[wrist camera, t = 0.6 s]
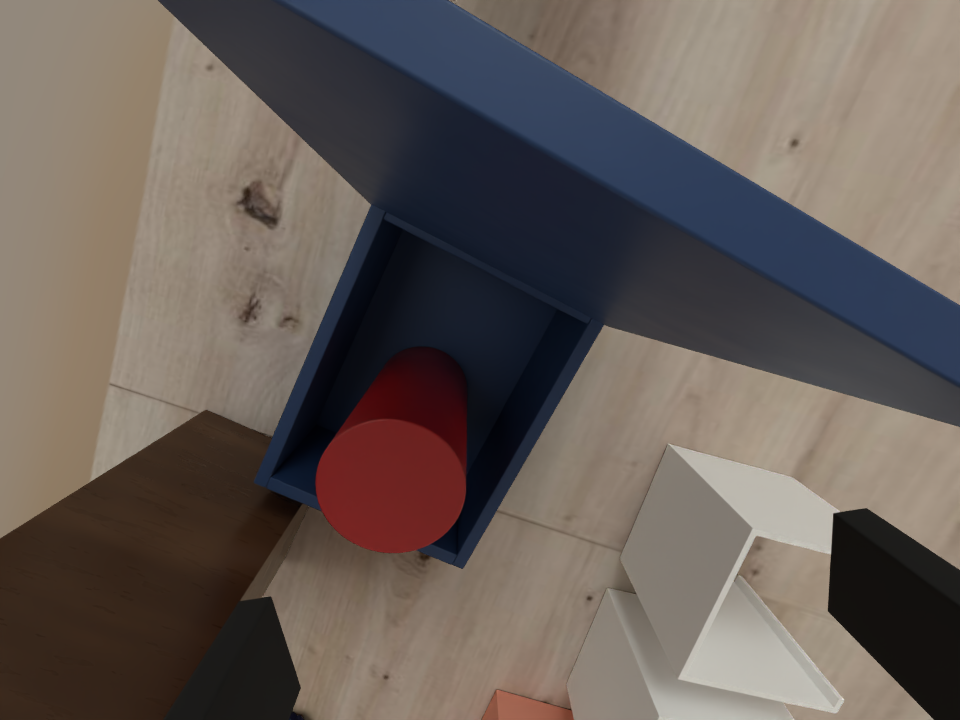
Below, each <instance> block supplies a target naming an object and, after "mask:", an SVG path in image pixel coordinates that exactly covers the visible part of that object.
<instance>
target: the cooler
mask: <svg viewBox="0 0 960 720" xmlns="http://www.w3.org/2000/svg"><path fill="white" fill-rule="evenodd" d="M603 325H604V324H602V323H600V322H598V321H596V320H594V319H592V318H590V317H588V316H587V315H585V314H583V313H581V312H579V311H577V310H575V309H573V308H571V307H569V306H567V305H565V304H563V303H561V302H559V301H558V300H556V299H554V298H552V297H550V296H548V295H546V294H544V293H542V292H540V291H538V290H536V289H534V288H532V287H530V286H529V285H527V284H525V283H523V282H521V281H519V280H517V279H515V278H513V277H511V276H509V275H507V274H505V273H503V272H501V271H500V270H498V269H496V268H494V267H492V266H490V265H488V264H486V263H484V262H482V261H480V260H478V259H476V258H474V257H472V256H471V255H469V254H467V253H465V252H463V251H461V250H459V249H457V248H455V247H453V246H451V245H449V244H447V243H445V242H443V241H442V240H440V239H438V238H436V237H434V236H432V235H430V234H428V233H426V232H424V231H422V230H420V229H418V228H416V227H414V226H412V225H411V224H409V223H407V222H405V221H403V220H401V219H399V218H397V217H395V216H393V215H391V214H389V213H387V212H385V211H383V210H382V209H380V208H378V207H376V206H374V205H371V207H370V209H369V212H368V214H367V216H366V219H365V221H364V223H363V226H362V228H361V230H360V233H359V235H358V237H357V240H356V242H355V244H354V247H353V249H352V252H351V254H350V256H349V259H348V261H347V263H346V266H345V268H344V270H343V273H342V275H341V277H340V280H339V282H338V284H337V287H336V289H335V291H334V294H333V296H332V299H331V301H330V303H329V306H328V308H327V310H326V313H325V315H324V317H323V320H322V322H321V324H320V327H319V329H318V331H317V334H316V336H315V338H314V341H313V343H312V346H311V348H310V350H309V353H308V355H307V357H306V360H305V362H304V364H303V367H302V369H301V371H300V374H299V376H298V378H297V381H296V383H295V385H294V388H293V390H292V393H291V395H290V397H289V400H288V402H287V404H286V407H285V409H284V411H283V414H282V416H281V418H280V421H279V423H278V425H277V428H276V430H275V432H274V435H273V437H272V440H271V442H270V444H269V447H268V449H267V451H266V454H265V456H264V458H263V461H262V463H261V465H260V468H259V470H258V472H257V475H256V477H255V479H254V483H255V484H258V485H260V486H262V487H265V488H267V489H269V490H271V491H274V492H276V493H279V494H281V495H284V496H286V497H288V498H291V499H293V500H296V501H298V502H301V503H303V504H305V505H308V506H310V507H313V508H315V509H317V510H320V511H322V510H321V508H320V505H319V503H318V499H317V494H316V486H315V481H316V472H317V467H318V464H319V461H320V459H321V457H322V455H323V453H324V451H325V450H326V448H327V447H328V445H329V444H330V442H331V441H332V440H333V438H334V437H335V435H336V434H337V432H338V431H339V430H340V428H341V427H342V425H343V424H344V423H345V421H346V420H347V418H348V417H349V415H350V414H351V413H352V411H353V410H354V408H355V407H356V405H357V404H358V403H359V401H360V400H361V398H362V397H363V395H364V394H365V393H366V391H367V390H368V388H369V387H370V386H371V384H372V383H373V381H374V380H375V378H376V377H377V376H378V374H379V373H380V371H381V370H382V368H383V367H384V366H385V364H386V363H387V362H388V361H389V360H390V359H391V358H392V357H393V356H394V355H395V354H397V353H399V352H400V351H403V350H405V349H408V348H412V347H419V346H420V347H431V348H435V349H438V350H441V351H443V352H445V353H446V354H448V355H449V356H451V357H452V358H453V359H454V360H455V361H456V362H457V363H458V365H459V366H460V367H461V369H462V371H463V373H464V375H465V378H466V382H467V452H466V495H465V501H464V505H463V508H462V511H461V513H460V515H459V517H458V519H457V520H456V522H455V523H454V525H453V526H452V527H451V528H450V529H449V530H448V532H446V533H445V534H444V535H443V536H442V537H441V538H439V539H438V540H436V541H435V542H433V543H431V544H429V545H428V546H426V547H423V548H420V549H417V551H419V552H422V553H424V554H426V555H429V556H431V557H434V558H436V559H439V560H441V561H443V562H446V563H448V564H452V565H454V566H456V567H459V568H461V569H463V568H464V566H465V565H466V563H467V561H468V560H469V558H470V556H471V554H472V553H473V551H474V549H475V547H476V546H477V544H478V542H479V540H480V539H481V537H482V535H483V533H484V532H485V530H486V528H487V527H488V525H489V523H490V521H491V520H492V518H493V516H494V514H495V513H496V511H497V509H498V507H499V506H500V504H501V502H502V501H503V499H504V497H505V495H506V494H507V492H508V490H509V488H510V487H511V485H512V483H513V481H514V480H515V478H516V476H517V475H518V473H519V471H520V469H521V468H522V466H523V464H524V462H525V461H526V459H527V457H528V455H529V454H530V452H531V450H532V449H533V447H534V445H535V443H536V442H537V440H538V438H539V436H540V435H541V433H542V431H543V429H544V428H545V426H546V424H547V422H548V421H549V419H550V417H551V416H552V414H553V412H554V410H555V409H556V407H557V405H558V403H559V402H560V400H561V398H562V396H563V395H564V393H565V391H566V390H567V388H568V386H569V384H570V383H571V381H572V379H573V377H574V376H575V374H576V372H577V370H578V369H579V367H580V365H581V364H582V362H583V360H584V358H585V357H586V355H587V353H588V351H589V350H590V348H591V346H592V344H593V343H594V341H595V339H596V337H597V336H598V334H599V332H600V331H601V329H602V327H603Z"/></svg>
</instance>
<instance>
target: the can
mask: <svg viewBox="0 0 960 720" xmlns="http://www.w3.org/2000/svg"><path fill="white" fill-rule="evenodd" d="M466 452H467V382H466V378H465V375H464V373H463V371H462V369H461V367H460V366H459V365H458V363H457V362H456V361H455V360H454V359H453V358H452V357H451V356H449V355H448V354H446V353H445V352H443V351H441V350H438V349H435V348H431V347H420V346H419V347H412V348H408V349H405V350H403V351H400V352H399V353H397V354H395V355H394V356H393V357H392V358H391V359H390V360H389V361H388V362H387V363H386V364H385V366H384V367H383V368H382V370H381V371H380V373H379V374H378V376H377V377H376V378H375V380H374V381H373V383H372V384H371V386H370V387H369V388H368V390H367V391H366V393H365V394H364V395H363V397H362V398H361V400H360V401H359V403H358V404H357V405H356V407H355V408H354V410H353V411H352V413H351V414H350V415H349V417H348V418H347V420H346V421H345V423H344V424H343V425H342V427H341V428H340V430H339V431H338V432H337V434H336V435H335V437H334V438H333V440H332V441H331V442H330V444H329V445H328V447H327V448H326V450H325V451H324V453H323V455H322V457H321V459H320V461H319V464H318V467H317V472H316V481H315V486H316V494H317V499H318V503H319V505H320V508H321V510H322V512H323V514H324V516H325V517H326V519H327V520H328V522H329V523H330V524H331V526H332V527H333V528H334V529H335V530H336V531H337V532H338V533H339V534H341V535H342V536H343V537H344V538H346V539H347V540H349V541H351V542H352V543H354V544H356V545H358V546H360V547H363V548H366V549H369V550H372V551H377V552H383V553H403V552H410V551H414V550H417V549H420V548H423V547H426V546H428V545H429V544H431V543H433V542H435V541H436V540H438V539H439V538H441V537H442V536H443V535H444V534H445V533H446V532H448V530H449V529H450V528H451V527H452V526H453V525H454V523H455V522H456V520H457V519H458V517H459V515H460V513H461V511H462V508H463V505H464V501H465V495H466Z"/></svg>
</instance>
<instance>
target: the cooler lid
mask: <svg viewBox="0 0 960 720" xmlns="http://www.w3.org/2000/svg"><path fill="white" fill-rule="evenodd" d="M158 1H159V2H160V3H161V4H162V5H163V6H164V7H165V8H166V9H167V10H169V11H170V12H171V13H172V14H173V15H174V16H175V17H176V18H177V19H178V20H179V21H180V22H181V23H182V24H183V25H184V26H185V27H186V28H187V29H188V30H189V31H190V32H191V33H193V34H194V35H195V36H196V37H197V38H198V39H199V40H200V41H201V42H202V43H203V44H204V45H205V46H206V47H207V48H208V49H209V50H210V51H211V52H212V53H213V54H214V55H215V56H217V57H218V58H219V59H220V60H221V61H222V62H223V63H224V64H225V65H226V66H227V67H228V68H229V69H230V70H231V71H232V72H233V73H234V74H235V75H236V76H237V77H238V78H239V79H241V80H242V81H243V82H244V83H245V84H246V85H247V86H248V87H249V88H250V89H251V90H252V91H253V92H254V93H255V94H256V95H257V96H258V97H259V98H260V99H261V100H262V101H264V102H265V103H266V104H267V105H268V106H269V107H270V108H271V109H272V110H273V111H274V112H275V113H276V114H277V115H278V116H279V117H280V118H281V119H282V120H283V121H284V122H285V123H286V124H288V125H289V126H290V127H291V128H292V129H293V130H294V131H295V132H296V133H297V134H298V135H299V136H300V137H301V138H302V139H303V140H304V141H305V142H306V143H307V144H308V145H309V146H310V147H312V148H313V149H314V150H315V151H316V152H317V153H318V154H319V155H320V156H321V157H322V158H323V159H324V160H325V161H326V162H327V163H328V164H329V165H330V166H331V167H332V168H333V169H335V170H336V171H337V172H338V173H339V174H340V175H341V176H342V177H343V178H344V179H345V180H346V181H347V182H348V183H349V184H350V185H351V186H352V187H353V188H354V189H355V190H356V191H357V192H359V193H360V194H361V195H362V196H363V197H364V198H365V199H366V200H367V201H368V202H369V203H370V204H372V205H374V206H376V207H378V208H380V209H382V210H383V211H385V212H387V213H389V214H391V215H393V216H395V217H397V218H399V219H401V220H403V221H405V222H407V223H409V224H411V225H412V226H414V227H416V228H418V229H420V230H422V231H424V232H426V233H428V234H430V235H432V236H434V237H436V238H438V239H440V240H442V241H443V242H445V243H447V244H449V245H451V246H453V247H455V248H457V249H459V250H461V251H463V252H465V253H467V254H469V255H471V256H472V257H474V258H476V259H478V260H480V261H482V262H484V263H486V264H488V265H490V266H492V267H494V268H496V269H498V270H500V271H501V272H503V273H505V274H507V275H509V276H511V277H513V278H515V279H517V280H519V281H521V282H523V283H525V284H527V285H529V286H530V287H532V288H534V289H536V290H538V291H540V292H542V293H544V294H546V295H548V296H550V297H552V298H554V299H556V300H558V301H559V302H561V303H563V304H565V305H567V306H569V307H571V308H573V309H575V310H577V311H579V312H581V313H583V314H585V315H587V316H588V317H590V318H592V319H594V320H596V321H598V322H600V323H602V324H604V325H606V326H609V327H612V328H616V329H619V330H623V331H626V332H630V333H633V334H637V335H640V336H644V337H647V338H651V339H654V340H658V341H661V342H665V343H668V344H672V345H675V346H679V347H682V348H686V349H689V350H693V351H696V352H700V353H703V354H707V355H710V356H714V357H717V358H721V359H724V360H728V361H731V362H735V363H738V364H742V365H745V366H749V367H752V368H756V369H759V370H763V371H766V372H770V373H773V374H777V375H780V376H784V377H787V378H791V379H794V380H798V381H801V382H805V383H808V384H812V385H815V386H819V387H822V388H826V389H829V390H833V391H836V392H840V393H843V394H847V395H850V396H854V397H857V398H861V399H864V400H868V401H871V402H875V403H878V404H882V405H885V406H889V407H892V408H896V409H899V410H903V411H906V412H910V413H913V414H917V415H920V416H924V417H927V418H931V419H934V420H938V421H941V422H945V423H948V424H952V425H955V426H959V427H960V305H958V304H957V303H955V302H953V301H952V300H950V299H948V298H947V297H945V296H943V295H942V294H940V293H938V292H937V291H935V290H933V289H931V288H930V287H928V286H926V285H925V284H923V283H921V282H920V281H918V280H916V279H915V278H913V277H911V276H910V275H908V274H906V273H905V272H903V271H901V270H900V269H898V268H896V267H895V266H893V265H891V264H890V263H888V262H886V261H885V260H883V259H881V258H880V257H878V256H876V255H874V254H873V253H871V252H869V251H868V250H866V249H864V248H863V247H861V246H859V245H858V244H856V243H854V242H853V241H851V240H849V239H848V238H846V237H844V236H843V235H841V234H839V233H838V232H836V231H834V230H833V229H831V228H829V227H828V226H826V225H824V224H823V223H821V222H819V221H817V220H816V219H814V218H812V217H811V216H809V215H807V214H806V213H804V212H802V211H801V210H799V209H797V208H796V207H794V206H792V205H791V204H789V203H787V202H786V201H784V200H782V199H781V198H779V197H777V196H776V195H774V194H772V193H771V192H769V191H767V190H766V189H764V188H762V187H760V186H759V185H757V184H755V183H754V182H752V181H750V180H749V179H747V178H745V177H744V176H742V175H740V174H739V173H737V172H735V171H734V170H732V169H730V168H729V167H727V166H725V165H724V164H722V163H720V162H719V161H717V160H715V159H714V158H712V157H710V156H708V155H707V154H705V153H703V152H702V151H700V150H698V149H697V148H695V147H693V146H692V145H690V144H688V143H687V142H685V141H683V140H682V139H680V138H678V137H677V136H675V135H673V134H672V133H670V132H668V131H667V130H665V129H663V128H662V127H660V126H658V125H657V124H655V123H653V122H651V121H650V120H648V119H646V118H645V117H643V116H641V115H640V114H638V113H636V112H635V111H633V110H631V109H630V108H628V107H626V106H625V105H623V104H621V103H620V102H618V101H616V100H615V99H613V98H611V97H610V96H608V95H606V94H605V93H603V92H601V91H600V90H598V89H596V88H594V87H593V86H591V85H589V84H588V83H586V82H584V81H583V80H581V79H579V78H578V77H576V76H574V75H573V74H571V73H569V72H568V71H566V70H564V69H563V68H561V67H559V66H558V65H556V64H554V63H553V62H551V61H549V60H548V59H546V58H544V57H543V56H541V55H539V54H537V53H536V52H534V51H532V50H531V49H529V48H527V47H526V46H524V45H522V44H521V43H519V42H517V41H516V40H514V39H512V38H511V37H509V36H507V35H506V34H504V33H502V32H501V31H499V30H497V29H496V28H494V27H492V26H491V25H489V24H487V23H486V22H484V21H482V20H480V19H479V18H477V17H475V16H474V15H472V14H470V13H469V12H467V11H465V10H464V9H462V8H460V7H459V6H457V5H455V4H454V3H452V2H450V1H449V0H158Z"/></svg>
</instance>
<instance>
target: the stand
mask: <svg viewBox="0 0 960 720" xmlns="http://www.w3.org/2000/svg"><path fill="white" fill-rule="evenodd" d="M271 440H272V438H270V437H268V436H266V435H263V434H261V433H259V432H256V431H254V430H252V429H249V428H247V427H245V426H242V425H240V424H238V423H235V422H233V421H231V420H228V419H226V418H224V417H221V416H219V415H217V414H214V413H212V412H210V411H207V410H205V411H203V412H201V413H200V414H198V415H197V416H195V417H193V418H192V419H190V420H189V421H187V422H186V423H184V424H182V425H181V426H179V427H178V428H176V429H174V430H173V431H171V432H170V433H168V434H166V435H165V436H163V437H162V438H160V439H158V440H157V441H155V442H154V443H152V444H150V445H149V446H147V447H146V448H144V449H142V450H141V451H139V452H138V453H136V454H134V455H133V456H131V457H130V458H128V459H126V460H125V461H123V462H122V463H120V464H118V465H117V466H115V467H114V468H112V469H110V470H109V471H107V472H106V473H104V474H102V475H101V476H99V477H98V478H96V479H94V480H93V481H91V482H90V483H88V484H86V485H85V486H83V487H82V488H80V489H78V490H77V491H75V492H74V493H72V494H70V495H69V496H67V497H66V498H64V499H62V500H61V501H59V502H58V503H56V504H54V505H53V506H51V507H50V508H48V509H47V510H45V511H43V512H42V513H40V514H39V515H37V516H35V517H34V518H32V519H31V520H29V521H27V522H26V523H24V524H23V525H21V526H19V527H18V528H16V529H15V530H13V531H11V532H10V533H8V534H7V535H5V536H3V537H2V538H0V720H163V719H164V718H165V716H166V714H167V713H168V711H169V710H170V708H171V707H172V705H173V703H174V702H175V700H176V699H177V697H178V696H179V694H180V693H181V691H182V689H183V688H184V686H185V685H186V683H187V682H188V680H189V678H190V677H191V675H192V674H193V672H194V671H195V669H196V668H197V666H198V664H199V663H200V661H201V660H202V658H203V657H204V655H205V653H206V652H207V650H208V649H209V647H210V646H211V644H212V642H213V641H214V639H215V638H216V636H217V635H218V633H219V632H220V630H221V628H222V627H223V625H224V624H225V622H226V621H227V619H228V617H229V616H230V614H231V613H232V611H233V610H234V608H235V607H236V605H237V603H238V602H239V601H244V600H250V599H257V598H262V596H263V595H264V593H265V591H266V590H267V588H268V586H269V584H270V583H271V581H272V579H273V578H274V576H275V574H276V573H277V571H278V569H279V567H280V566H281V564H282V562H283V561H284V559H285V556H286V554H287V552H288V550H289V548H290V546H291V544H292V541H293V539H294V537H295V535H296V533H297V531H298V528H299V526H300V524H301V522H302V520H303V518H304V516H305V513H306V511H307V509H308V507H309V506H308V505H305V504H303V503H301V502H298V501H296V500H293V499H291V498H288V497H286V496H284V495H281V494H279V493H276V492H274V491H271V490H269V489H267V488H265V487H262V486H260V485H258V484H255V483H254V479H255V477H256V475H257V472H258V470H259V468H260V465H261V463H262V461H263V458H264V456H265V454H266V451H267V449H268V447H269V444H270V442H271Z"/></svg>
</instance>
